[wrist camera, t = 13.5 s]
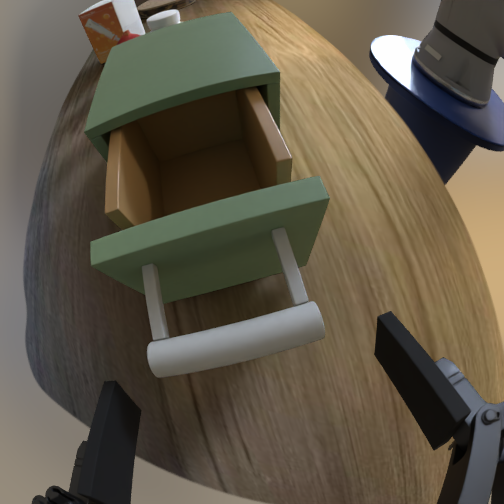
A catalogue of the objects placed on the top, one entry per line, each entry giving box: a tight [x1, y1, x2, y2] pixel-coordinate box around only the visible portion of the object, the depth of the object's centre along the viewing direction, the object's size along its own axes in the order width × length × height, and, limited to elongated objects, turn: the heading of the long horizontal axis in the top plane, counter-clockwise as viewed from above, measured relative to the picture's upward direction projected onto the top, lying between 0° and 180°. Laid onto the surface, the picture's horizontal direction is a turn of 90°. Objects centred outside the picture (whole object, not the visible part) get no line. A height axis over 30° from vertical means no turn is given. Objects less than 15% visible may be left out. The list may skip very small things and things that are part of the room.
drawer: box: [90, 86, 330, 378], centre depth 16 cm, size 18×10×9 cm, turn 15°
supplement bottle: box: [147, 10, 181, 32], centre depth 26 cm, size 5×5×10 cm
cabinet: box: [84, 12, 280, 162], centre depth 20 cm, size 14×12×11 cm
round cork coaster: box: [137, 0, 196, 18], centre depth 45 cm, size 16×16×3 cm
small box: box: [79, 0, 145, 64], centre depth 30 cm, size 8×6×13 cm
